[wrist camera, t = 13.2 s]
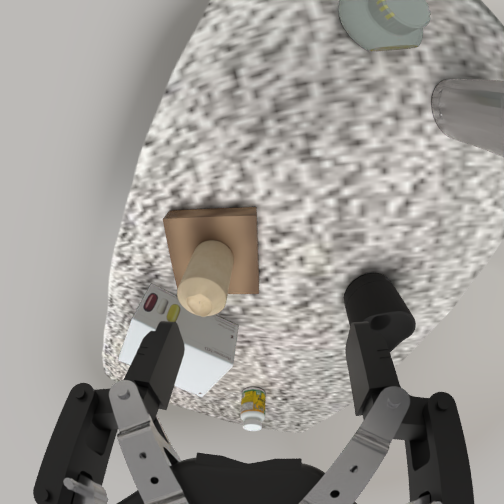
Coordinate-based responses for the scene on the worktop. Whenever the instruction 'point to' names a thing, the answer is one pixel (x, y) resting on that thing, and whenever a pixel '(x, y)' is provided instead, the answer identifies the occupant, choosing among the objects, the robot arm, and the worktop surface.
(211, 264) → the candle
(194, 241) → the walnut pedestal
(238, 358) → the worktop surface
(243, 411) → the supplement bottle
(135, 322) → the supplement box
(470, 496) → the robot arm
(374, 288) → the pen holder
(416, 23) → the air freshener
